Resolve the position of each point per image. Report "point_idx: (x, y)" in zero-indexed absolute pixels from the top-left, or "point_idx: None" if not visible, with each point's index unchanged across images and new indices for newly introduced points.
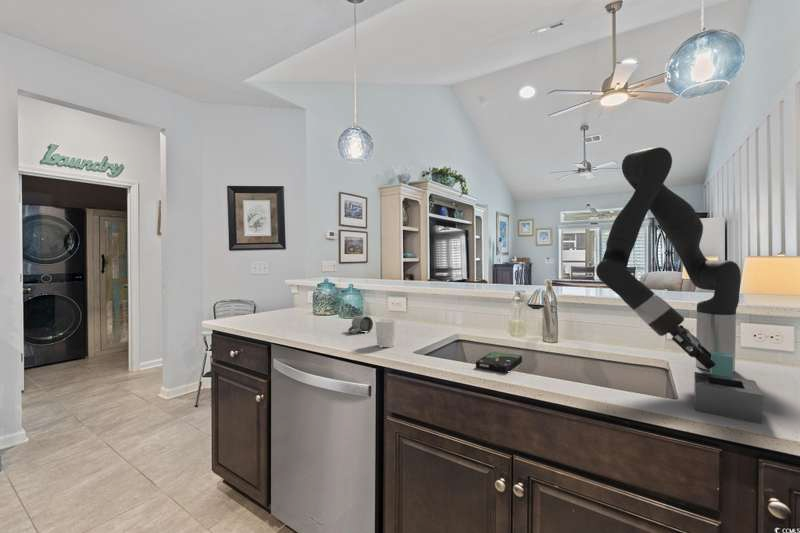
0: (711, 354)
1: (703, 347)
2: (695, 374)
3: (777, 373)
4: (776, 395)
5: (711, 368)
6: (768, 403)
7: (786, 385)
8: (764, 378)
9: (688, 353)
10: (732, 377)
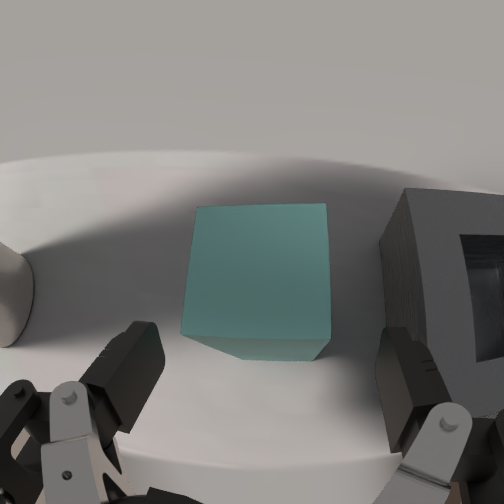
0: (249, 340)
1: (112, 377)
2: (471, 415)
3: (25, 180)
4: (206, 179)
5: (293, 352)
6: None
7: (101, 162)
8: (58, 199)
9: (494, 479)
10: (420, 262)
